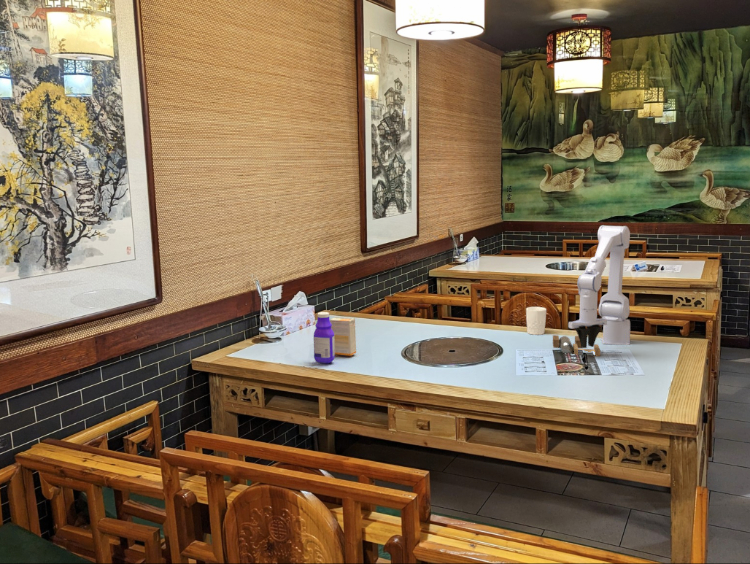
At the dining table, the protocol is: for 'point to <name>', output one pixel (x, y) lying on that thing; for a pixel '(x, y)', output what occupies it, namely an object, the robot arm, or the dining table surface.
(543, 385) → the dining table surface
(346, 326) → the supplement box
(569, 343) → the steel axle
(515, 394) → the dining table surface
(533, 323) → the white cup
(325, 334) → the bottle
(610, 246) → the robot arm
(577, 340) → the bearing block
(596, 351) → the oak cradle
